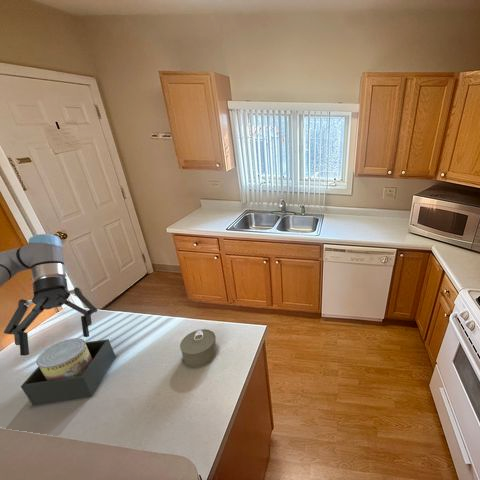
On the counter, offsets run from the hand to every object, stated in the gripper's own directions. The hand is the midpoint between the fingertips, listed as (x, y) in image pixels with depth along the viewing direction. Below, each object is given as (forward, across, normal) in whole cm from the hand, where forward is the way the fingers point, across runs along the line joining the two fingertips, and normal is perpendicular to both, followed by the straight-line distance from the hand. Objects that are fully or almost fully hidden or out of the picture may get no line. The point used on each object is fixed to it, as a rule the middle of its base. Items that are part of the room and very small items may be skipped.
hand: (57, 345), depth 77 cm
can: (+18, -37, -6) cm, 41 cm away
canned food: (+10, 0, -14) cm, 17 cm away
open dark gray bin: (+11, 0, -14) cm, 18 cm away
